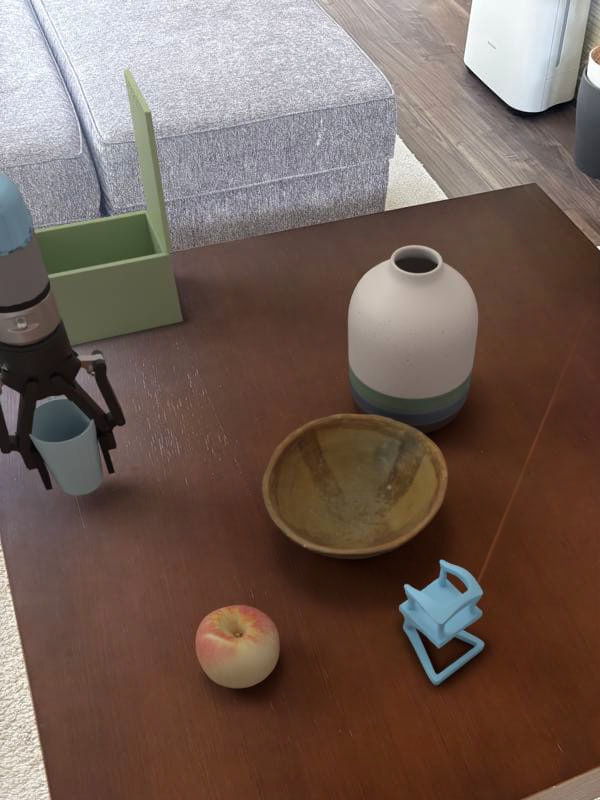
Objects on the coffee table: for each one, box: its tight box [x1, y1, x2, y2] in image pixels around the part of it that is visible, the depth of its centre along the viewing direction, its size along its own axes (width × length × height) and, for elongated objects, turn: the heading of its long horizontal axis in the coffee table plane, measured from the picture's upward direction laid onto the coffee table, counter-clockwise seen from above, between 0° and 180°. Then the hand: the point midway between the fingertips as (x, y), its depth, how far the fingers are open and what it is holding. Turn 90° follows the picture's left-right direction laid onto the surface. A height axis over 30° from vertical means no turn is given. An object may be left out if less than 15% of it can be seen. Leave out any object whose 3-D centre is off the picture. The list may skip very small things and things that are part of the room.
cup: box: [29, 397, 104, 496], centre depth 105 cm, size 8×8×10 cm
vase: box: [347, 244, 479, 435], centre depth 114 cm, size 17×17×24 cm
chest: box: [34, 209, 184, 346], centre depth 130 cm, size 19×13×12 cm
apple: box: [195, 604, 281, 689], centre depth 93 cm, size 9×9×8 cm
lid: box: [123, 68, 173, 253], centre depth 120 cm, size 20×13×1 cm
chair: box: [398, 559, 485, 686], centre depth 94 cm, size 8×8×12 cm
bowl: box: [261, 413, 449, 560], centre depth 105 cm, size 22×23×10 cm
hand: (79, 473), depth 108 cm, fingers closed on cup, 7 cm apart
